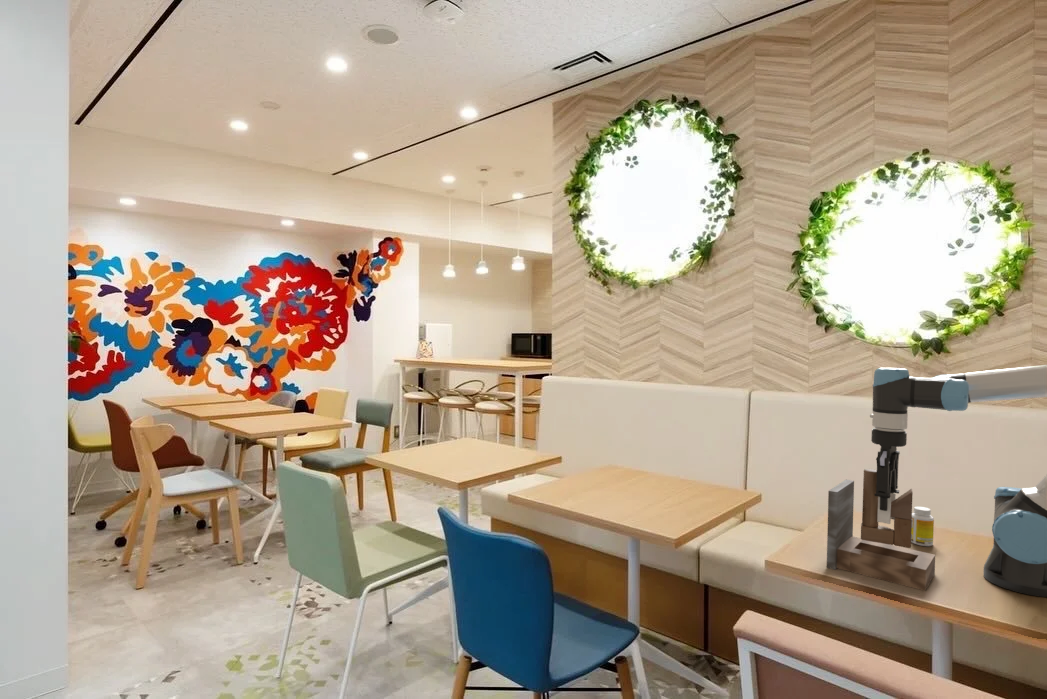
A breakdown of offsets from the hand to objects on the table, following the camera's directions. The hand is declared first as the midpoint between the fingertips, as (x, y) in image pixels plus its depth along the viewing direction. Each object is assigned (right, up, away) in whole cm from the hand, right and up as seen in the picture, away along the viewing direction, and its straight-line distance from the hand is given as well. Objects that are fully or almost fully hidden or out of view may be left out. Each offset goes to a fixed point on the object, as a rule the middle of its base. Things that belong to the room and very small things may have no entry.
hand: (886, 520), depth 148 cm
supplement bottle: (+23, -13, +20) cm, 33 cm away
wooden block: (0, -6, 0) cm, 6 cm away
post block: (0, -13, 0) cm, 13 cm away
